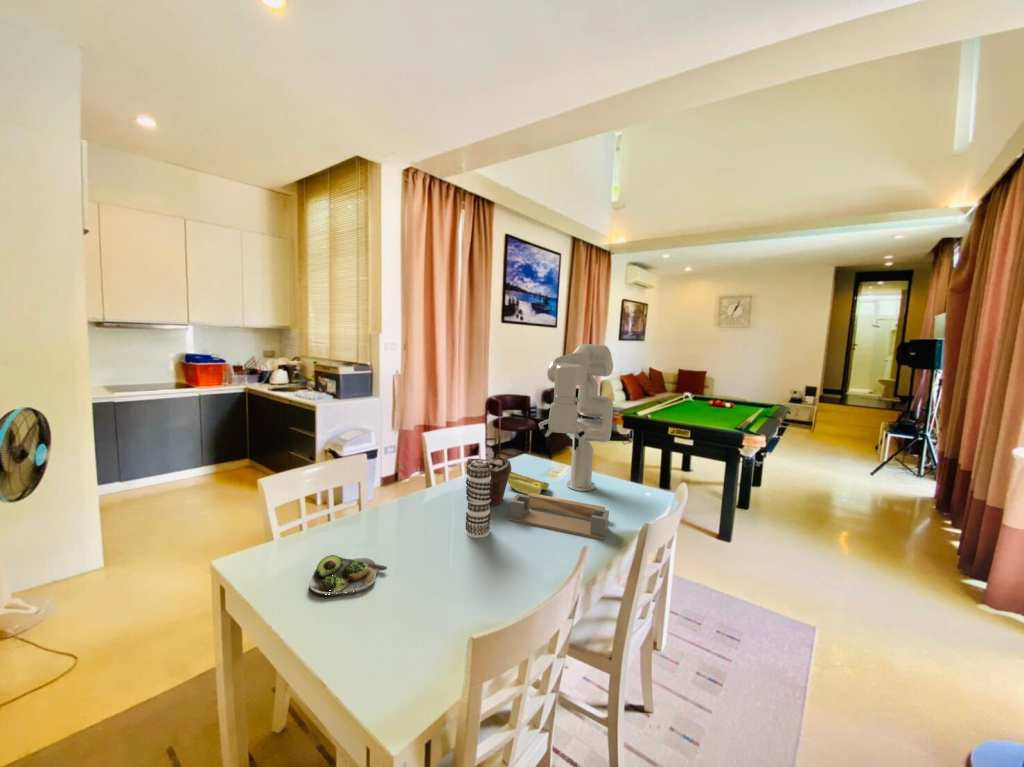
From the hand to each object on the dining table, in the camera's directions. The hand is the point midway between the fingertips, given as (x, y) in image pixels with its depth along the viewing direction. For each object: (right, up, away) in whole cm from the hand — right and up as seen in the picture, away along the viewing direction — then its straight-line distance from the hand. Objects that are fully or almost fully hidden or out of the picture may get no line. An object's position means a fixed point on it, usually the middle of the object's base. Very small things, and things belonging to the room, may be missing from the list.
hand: (561, 448), depth 149 cm
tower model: (-30, -29, -4) cm, 41 cm away
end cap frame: (-1, -29, +5) cm, 29 cm away
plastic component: (-12, -25, +39) cm, 47 cm away
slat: (+3, -28, +15) cm, 32 cm away
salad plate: (-64, -31, -33) cm, 79 cm away
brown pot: (-28, -25, +24) cm, 45 cm away
